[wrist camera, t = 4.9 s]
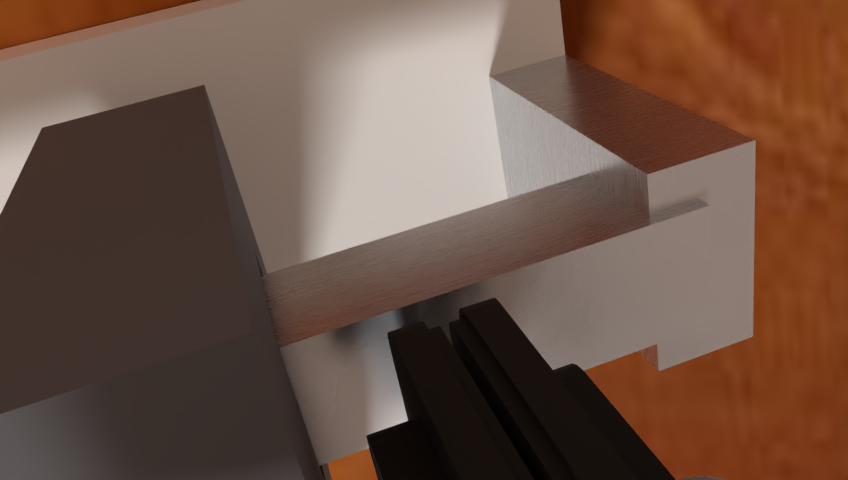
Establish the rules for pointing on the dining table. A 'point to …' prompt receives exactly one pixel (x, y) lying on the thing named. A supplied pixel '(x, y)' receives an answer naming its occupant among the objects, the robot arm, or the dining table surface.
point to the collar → (140, 309)
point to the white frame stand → (540, 251)
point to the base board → (305, 103)
